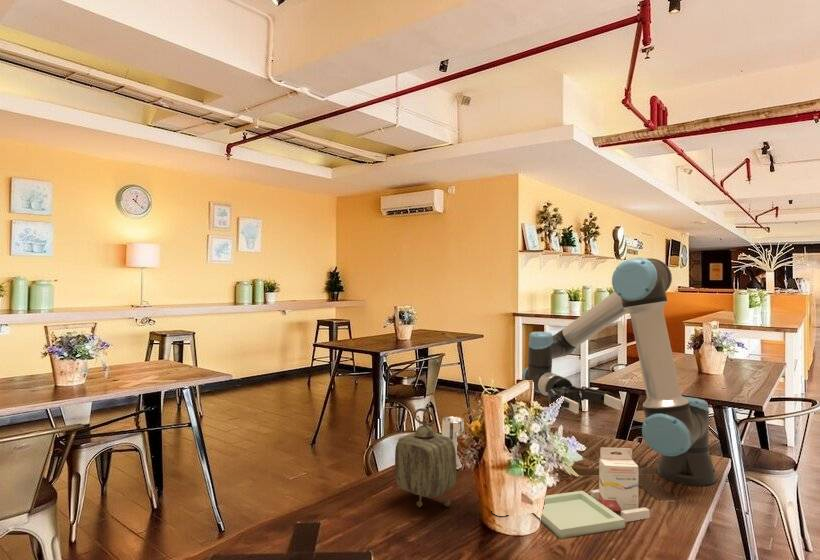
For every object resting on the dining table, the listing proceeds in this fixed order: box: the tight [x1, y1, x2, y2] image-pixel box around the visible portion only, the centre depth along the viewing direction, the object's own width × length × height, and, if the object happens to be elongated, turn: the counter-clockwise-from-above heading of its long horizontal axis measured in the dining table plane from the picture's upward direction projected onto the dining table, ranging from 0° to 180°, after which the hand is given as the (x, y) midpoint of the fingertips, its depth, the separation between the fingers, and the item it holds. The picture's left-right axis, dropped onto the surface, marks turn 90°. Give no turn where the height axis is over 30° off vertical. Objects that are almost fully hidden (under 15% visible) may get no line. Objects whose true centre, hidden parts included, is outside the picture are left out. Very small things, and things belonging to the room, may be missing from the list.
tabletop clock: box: [394, 407, 457, 508], centre depth 136 cm, size 14×9×25 cm, turn 48°
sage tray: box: [541, 490, 626, 539], centre depth 128 cm, size 17×17×2 cm
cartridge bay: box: [589, 488, 651, 523], centre depth 133 cm, size 7×14×2 cm, turn 15°
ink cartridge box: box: [598, 447, 640, 512], centre depth 133 cm, size 9×5×15 cm, turn 84°
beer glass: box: [441, 416, 465, 469], centre depth 161 cm, size 7×7×15 cm
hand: (599, 407), depth 140 cm, fingers open, 13 cm apart
